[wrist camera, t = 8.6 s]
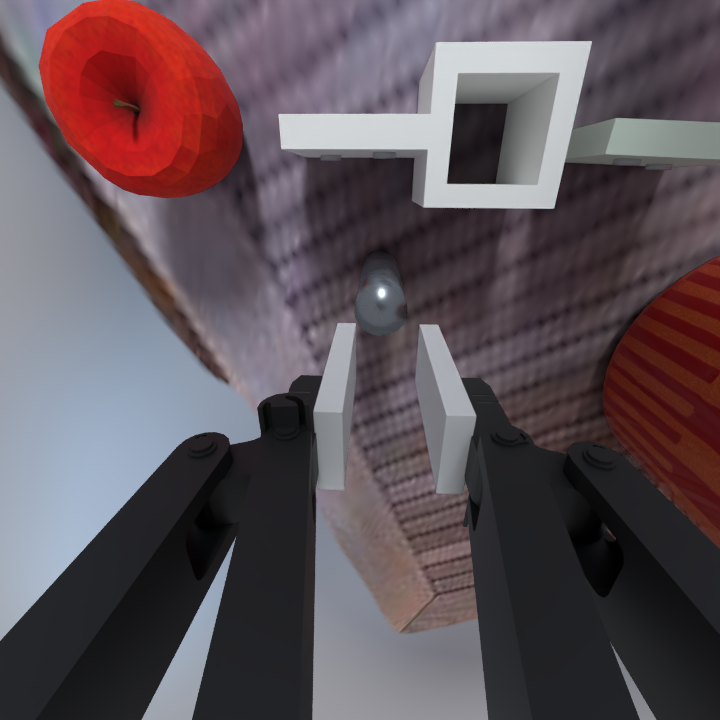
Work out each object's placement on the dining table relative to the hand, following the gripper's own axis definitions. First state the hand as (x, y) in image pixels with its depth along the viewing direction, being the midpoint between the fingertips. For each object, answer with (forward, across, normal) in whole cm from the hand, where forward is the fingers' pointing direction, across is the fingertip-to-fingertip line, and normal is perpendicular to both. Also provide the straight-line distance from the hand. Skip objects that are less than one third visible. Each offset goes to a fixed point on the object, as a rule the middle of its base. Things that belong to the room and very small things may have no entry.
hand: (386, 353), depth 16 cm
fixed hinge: (+17, +2, +9) cm, 19 cm away
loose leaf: (+16, +16, +8) cm, 24 cm away
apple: (+17, -13, +10) cm, 24 cm away
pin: (+17, 0, 0) cm, 17 cm away
